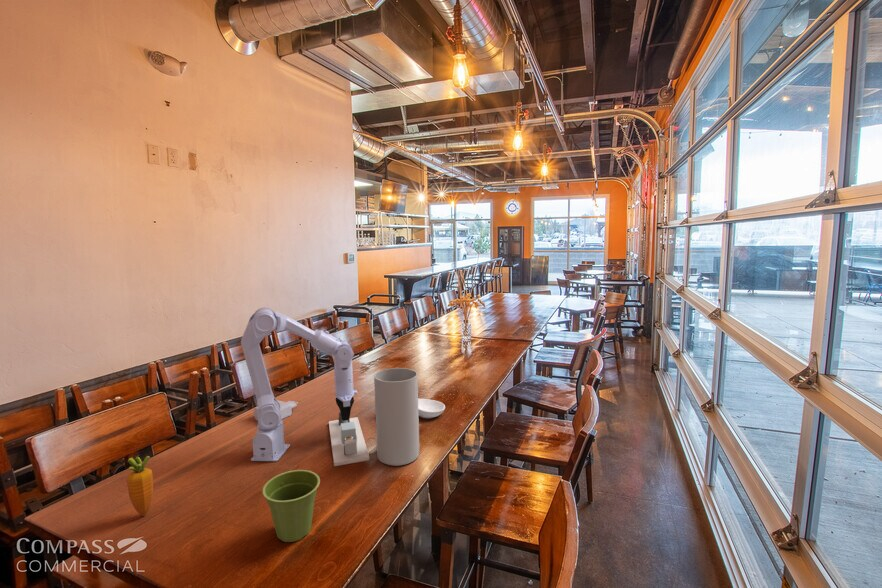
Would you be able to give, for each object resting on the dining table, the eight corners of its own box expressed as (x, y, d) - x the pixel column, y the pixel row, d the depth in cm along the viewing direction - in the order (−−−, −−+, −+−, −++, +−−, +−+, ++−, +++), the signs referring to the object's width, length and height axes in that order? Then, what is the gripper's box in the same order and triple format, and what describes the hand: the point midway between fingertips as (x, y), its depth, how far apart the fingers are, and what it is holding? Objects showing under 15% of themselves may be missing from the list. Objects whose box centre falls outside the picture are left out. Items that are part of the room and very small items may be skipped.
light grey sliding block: (356, 441, 126) (356, 428, 125) (342, 443, 125) (341, 430, 124) (355, 434, 131) (354, 421, 130) (340, 436, 129) (340, 423, 129)
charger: (305, 410, 159) (270, 425, 146) (289, 405, 164) (254, 419, 151) (304, 398, 158) (269, 412, 146) (288, 394, 163) (253, 407, 150)
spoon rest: (444, 408, 158) (444, 390, 158) (445, 421, 147) (445, 402, 146) (382, 410, 158) (381, 391, 157) (378, 423, 146) (377, 404, 145)
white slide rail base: (369, 460, 122) (368, 442, 121) (334, 466, 119) (333, 447, 118) (357, 419, 149) (357, 404, 148) (328, 424, 146) (328, 408, 145)
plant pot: (274, 560, 84) (270, 508, 83) (260, 528, 94) (256, 481, 92) (330, 535, 91) (327, 487, 90) (312, 507, 101) (309, 463, 99)
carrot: (161, 508, 101) (155, 450, 99) (148, 522, 96) (140, 461, 94) (140, 509, 101) (133, 451, 99) (126, 523, 96) (118, 462, 94)
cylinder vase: (373, 449, 128) (370, 371, 124) (412, 442, 132) (410, 366, 129) (382, 470, 116) (379, 384, 113) (425, 461, 120) (423, 378, 117)
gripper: (359, 385, 128) (361, 427, 129) (354, 371, 141) (355, 409, 143) (335, 387, 125) (337, 430, 127) (332, 373, 139) (334, 412, 141)
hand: (345, 419), depth 135 cm, fingers closed
